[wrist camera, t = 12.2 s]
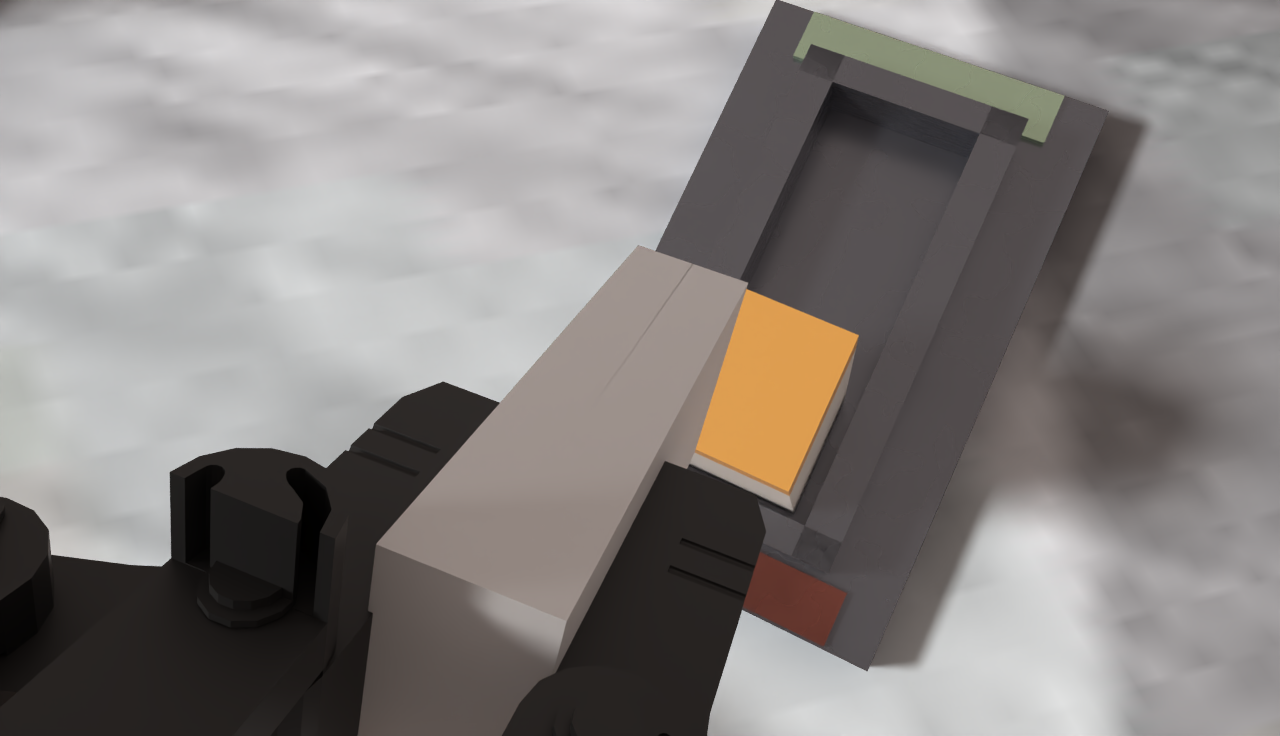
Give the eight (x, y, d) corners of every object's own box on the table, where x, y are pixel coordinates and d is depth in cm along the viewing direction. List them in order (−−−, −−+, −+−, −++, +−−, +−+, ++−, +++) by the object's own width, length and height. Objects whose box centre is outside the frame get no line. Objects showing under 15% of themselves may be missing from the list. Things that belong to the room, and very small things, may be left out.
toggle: (793, 513, 32) (788, 491, 23) (681, 461, 33) (633, 420, 24) (844, 400, 32) (858, 334, 23) (731, 352, 33) (703, 271, 24)
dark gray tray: (864, 666, 32) (871, 678, 29) (544, 508, 35) (515, 502, 32) (1096, 130, 34) (1127, 82, 31) (777, 21, 37) (774, -34, 34)
